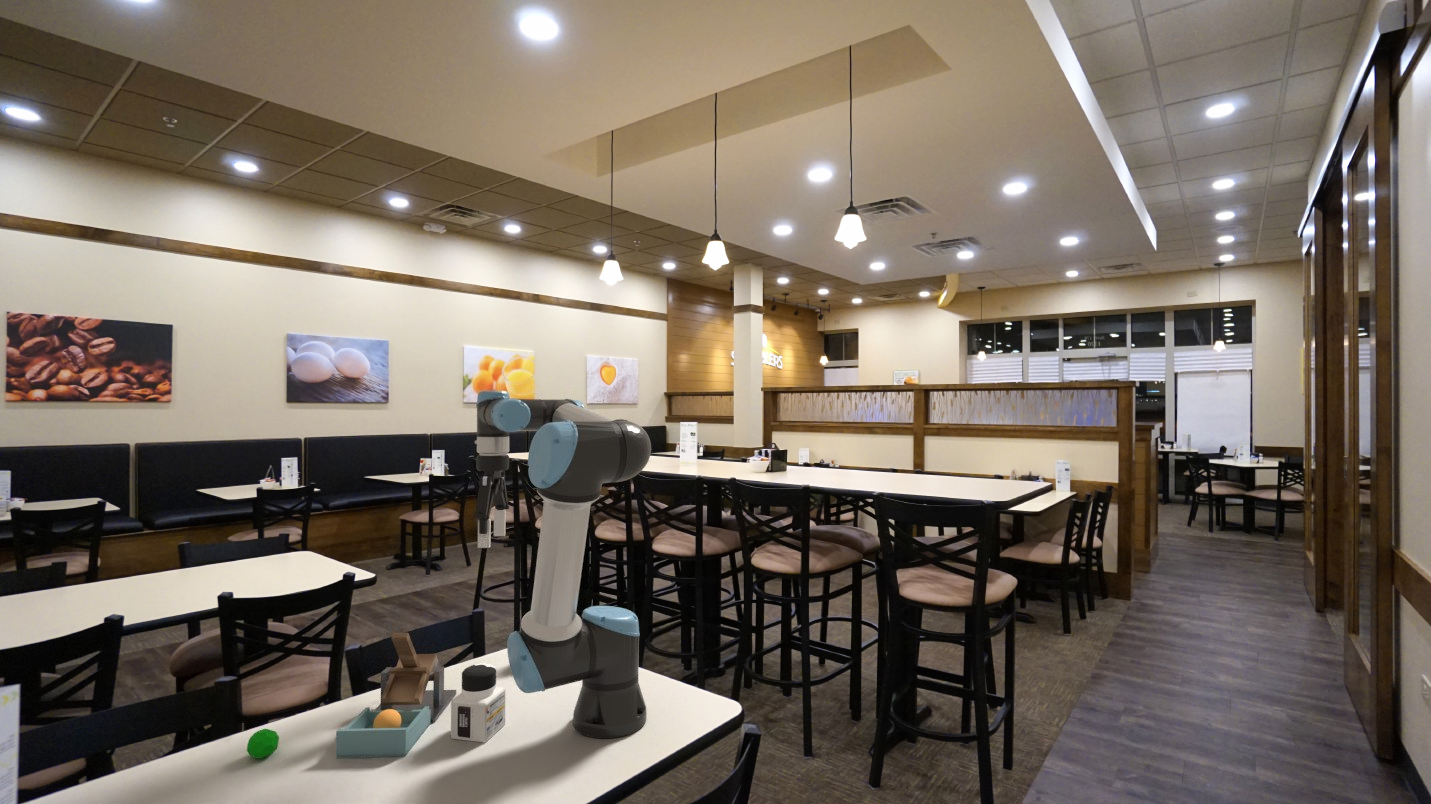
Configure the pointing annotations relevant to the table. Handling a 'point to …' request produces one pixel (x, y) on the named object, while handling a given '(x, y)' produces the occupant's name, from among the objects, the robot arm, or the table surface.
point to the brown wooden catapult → (409, 673)
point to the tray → (381, 735)
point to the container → (478, 705)
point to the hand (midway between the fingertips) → (492, 541)
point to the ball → (387, 719)
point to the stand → (431, 698)
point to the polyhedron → (262, 743)
